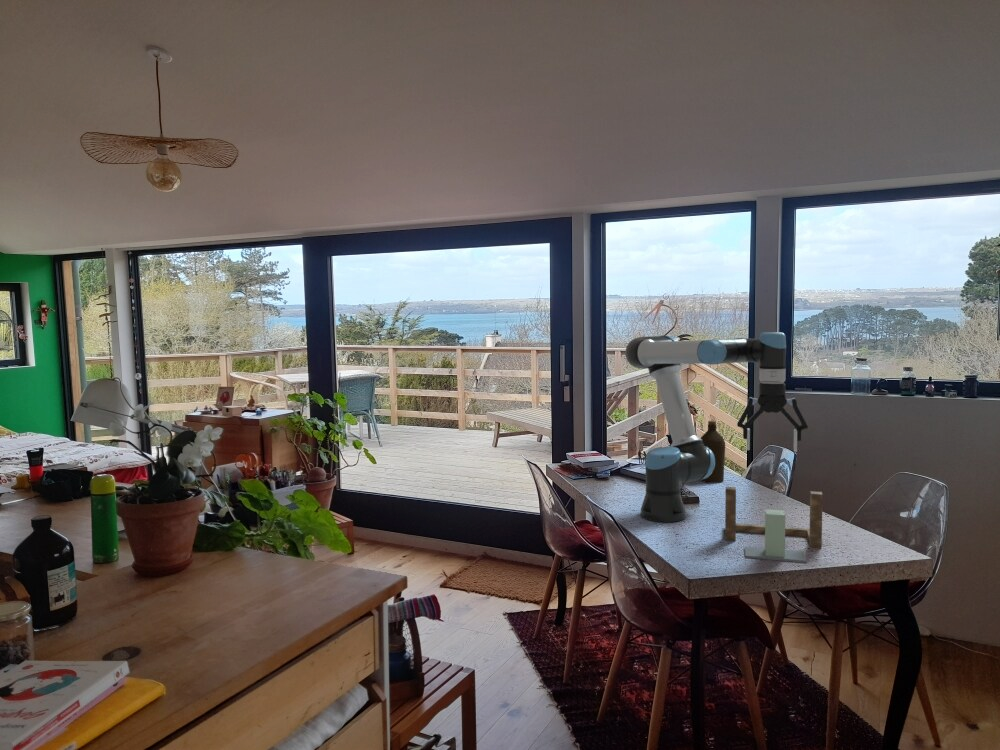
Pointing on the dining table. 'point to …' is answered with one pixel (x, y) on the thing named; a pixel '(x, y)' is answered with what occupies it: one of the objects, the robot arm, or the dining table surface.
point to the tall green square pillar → (775, 533)
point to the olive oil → (715, 452)
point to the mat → (789, 556)
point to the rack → (812, 534)
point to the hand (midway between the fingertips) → (771, 450)
